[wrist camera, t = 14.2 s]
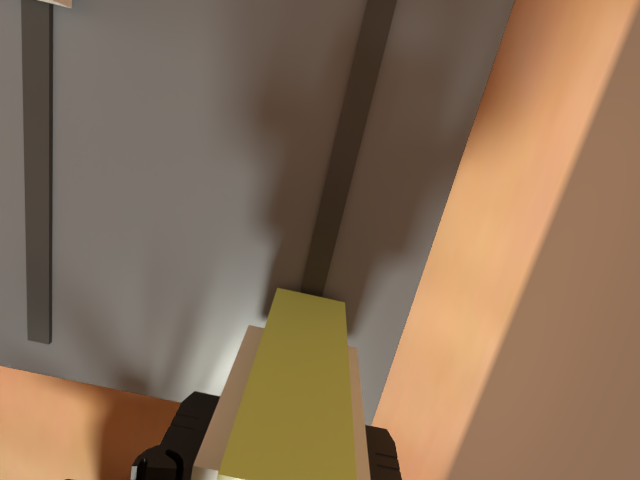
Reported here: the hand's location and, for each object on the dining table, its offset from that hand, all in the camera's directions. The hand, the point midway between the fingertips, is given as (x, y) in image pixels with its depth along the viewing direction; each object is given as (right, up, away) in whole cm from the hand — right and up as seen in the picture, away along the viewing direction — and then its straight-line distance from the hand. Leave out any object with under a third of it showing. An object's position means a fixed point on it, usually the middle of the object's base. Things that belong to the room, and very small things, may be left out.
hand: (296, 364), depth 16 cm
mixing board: (-4, +9, +1) cm, 10 cm away
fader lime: (0, +1, +1) cm, 2 cm away
